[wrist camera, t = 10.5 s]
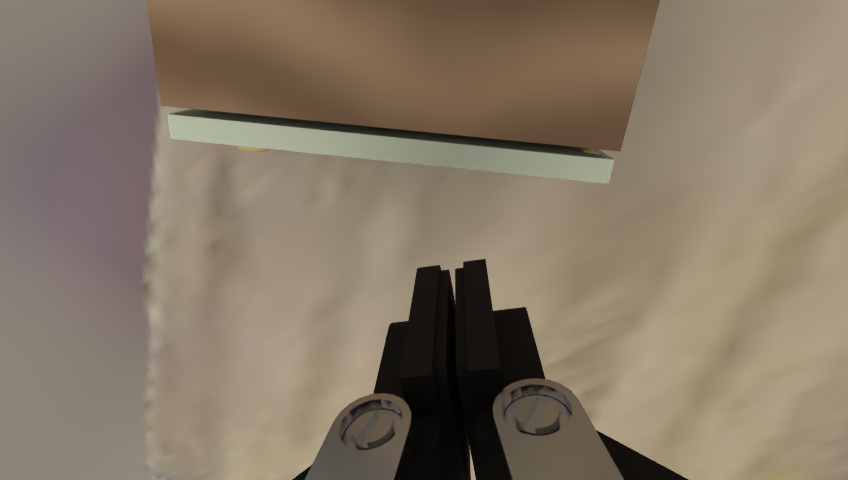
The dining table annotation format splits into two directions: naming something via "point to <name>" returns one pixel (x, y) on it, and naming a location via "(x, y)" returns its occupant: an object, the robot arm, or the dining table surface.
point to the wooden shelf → (412, 63)
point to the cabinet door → (391, 145)
